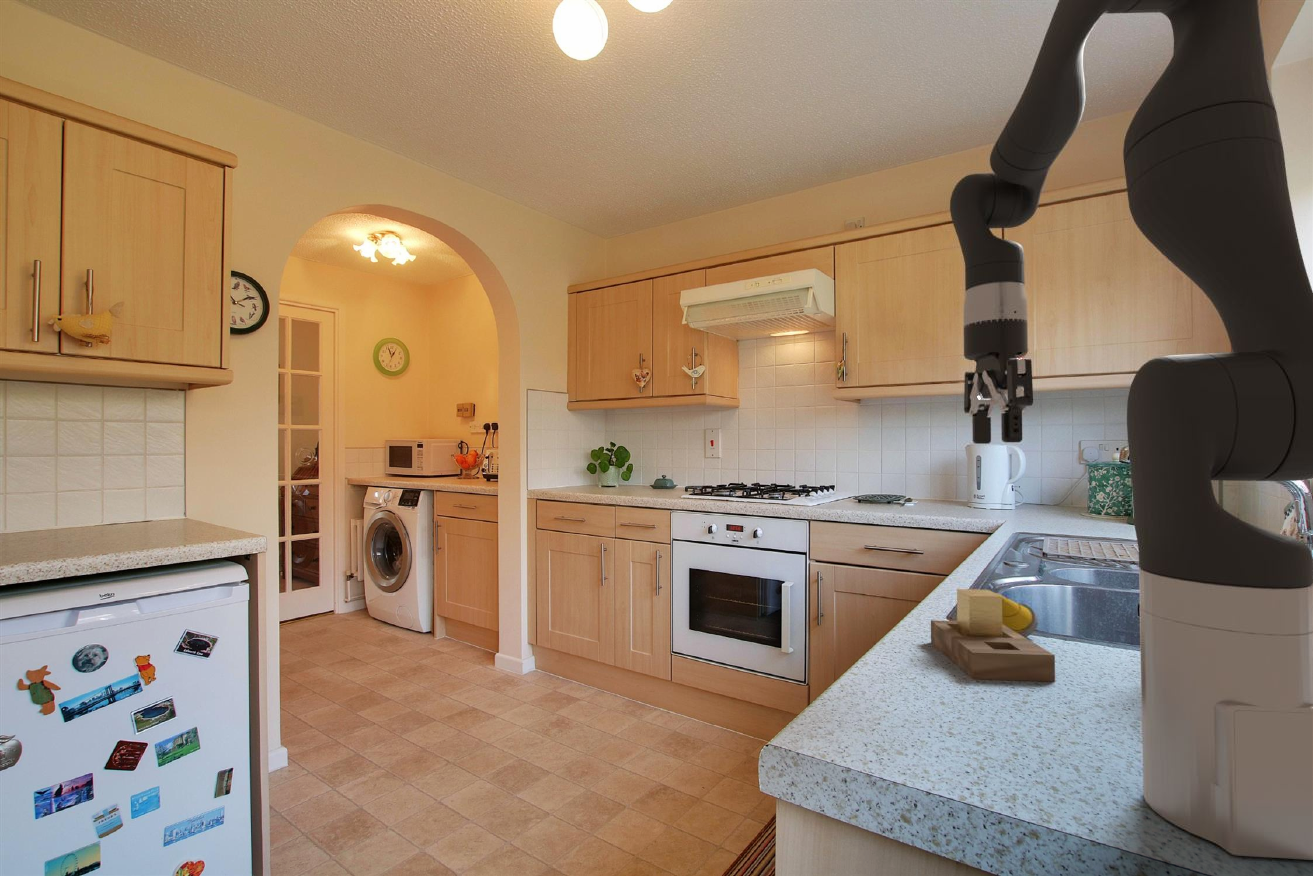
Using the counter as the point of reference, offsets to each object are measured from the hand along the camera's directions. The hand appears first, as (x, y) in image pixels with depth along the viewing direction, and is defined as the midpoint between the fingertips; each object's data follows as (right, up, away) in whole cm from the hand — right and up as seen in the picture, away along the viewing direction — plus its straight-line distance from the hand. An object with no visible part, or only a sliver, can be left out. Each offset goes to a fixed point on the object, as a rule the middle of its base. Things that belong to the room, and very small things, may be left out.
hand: (996, 443), depth 82 cm
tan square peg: (-3, -28, -2) cm, 28 cm away
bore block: (-4, -27, -4) cm, 28 cm away
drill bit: (+5, -28, +5) cm, 29 cm away
